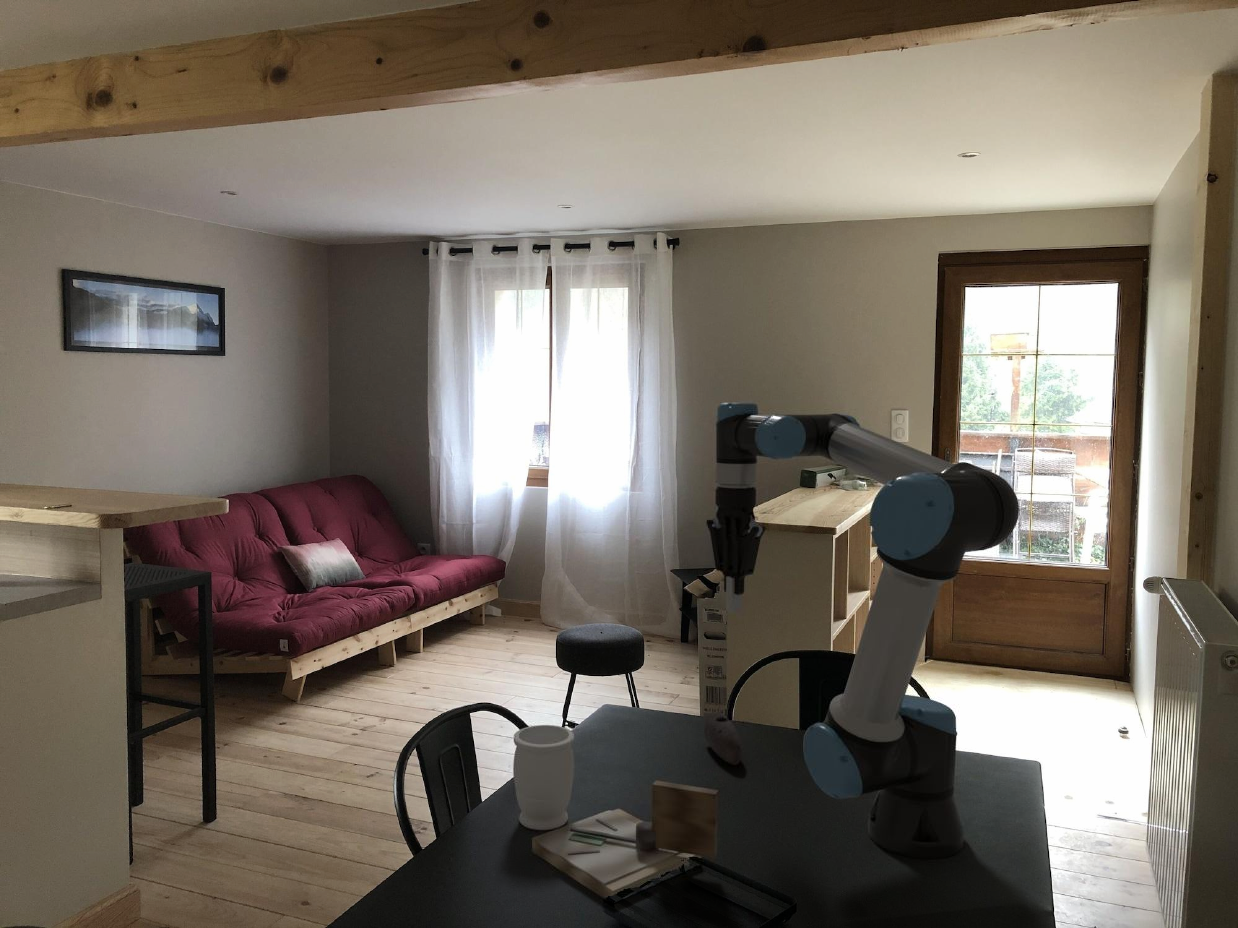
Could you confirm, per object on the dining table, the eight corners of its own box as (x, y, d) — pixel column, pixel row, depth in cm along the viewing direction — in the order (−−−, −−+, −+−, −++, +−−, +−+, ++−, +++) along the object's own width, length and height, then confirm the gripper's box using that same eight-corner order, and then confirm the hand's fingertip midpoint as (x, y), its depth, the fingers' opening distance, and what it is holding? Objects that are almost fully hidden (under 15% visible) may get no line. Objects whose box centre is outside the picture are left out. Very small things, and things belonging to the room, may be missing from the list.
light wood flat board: (701, 864, 149) (701, 848, 149) (612, 904, 137) (613, 887, 137) (618, 819, 164) (618, 805, 164) (532, 851, 152) (532, 836, 152)
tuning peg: (718, 852, 147) (719, 787, 146) (712, 863, 144) (713, 796, 143) (575, 826, 155) (575, 764, 155) (566, 835, 152) (566, 773, 151)
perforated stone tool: (749, 770, 186) (750, 735, 185) (723, 772, 185) (724, 737, 184) (726, 742, 200) (726, 709, 200) (702, 743, 199) (702, 711, 199)
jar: (577, 832, 159) (577, 744, 158) (515, 836, 157) (515, 747, 156) (570, 804, 170) (570, 722, 168) (511, 808, 168) (511, 725, 167)
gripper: (776, 487, 175) (773, 613, 177) (724, 481, 185) (722, 601, 187) (748, 489, 170) (746, 620, 172) (696, 483, 180) (694, 607, 182)
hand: (733, 610), depth 179 cm, fingers closed
